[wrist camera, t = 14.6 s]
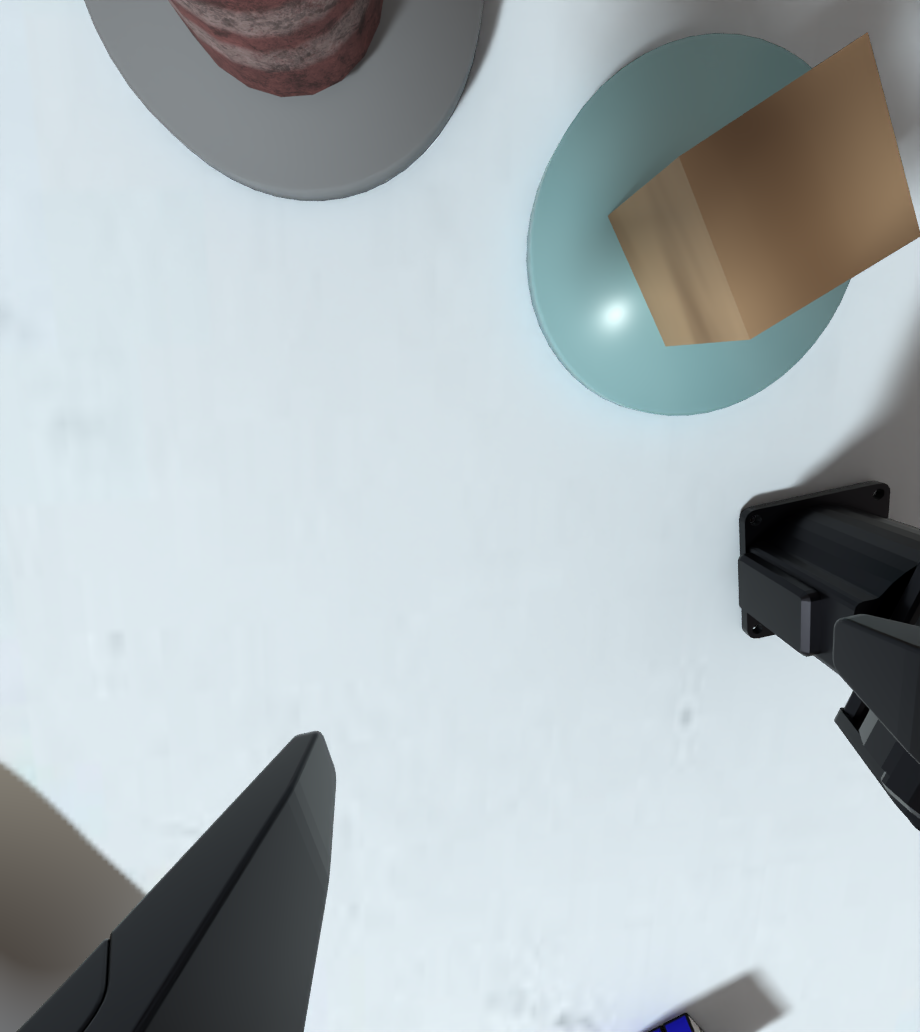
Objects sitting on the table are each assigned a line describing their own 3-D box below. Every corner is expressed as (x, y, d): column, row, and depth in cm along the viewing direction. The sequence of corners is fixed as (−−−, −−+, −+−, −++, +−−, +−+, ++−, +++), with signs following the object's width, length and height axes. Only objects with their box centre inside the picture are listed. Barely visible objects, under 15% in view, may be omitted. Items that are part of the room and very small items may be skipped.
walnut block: (738, 130, 16) (868, 31, 12) (788, 270, 18) (920, 236, 13) (607, 216, 17) (679, 156, 12) (665, 346, 18) (749, 339, 13)
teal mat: (844, 22, 17) (875, -3, 15) (832, 379, 20) (857, 380, 19) (501, 95, 17) (506, 75, 15) (550, 439, 20) (558, 444, 19)
